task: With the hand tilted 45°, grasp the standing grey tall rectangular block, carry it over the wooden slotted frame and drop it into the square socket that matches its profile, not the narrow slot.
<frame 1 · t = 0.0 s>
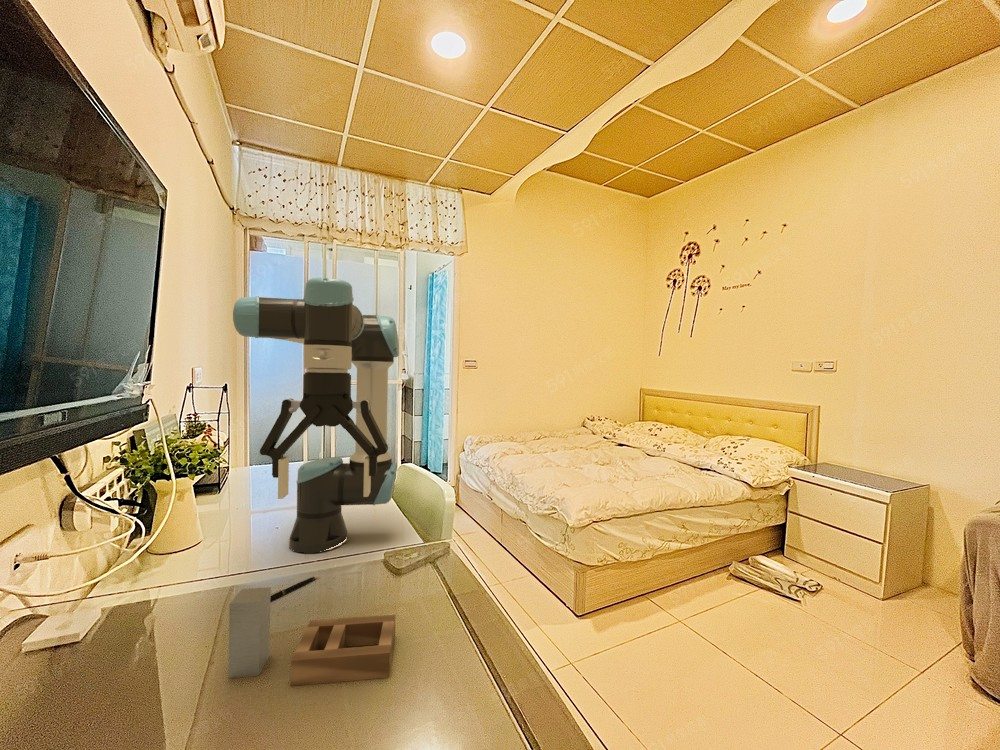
hand: (325, 495, 71), 28 cm above the table, tool pointing down, fingers open, 13 cm apart
grey tall rectangular block: (249, 666, 69), on the table
fountain pen: (291, 592, 93), on the table
wooden slotted frame: (347, 658, 72), on the table
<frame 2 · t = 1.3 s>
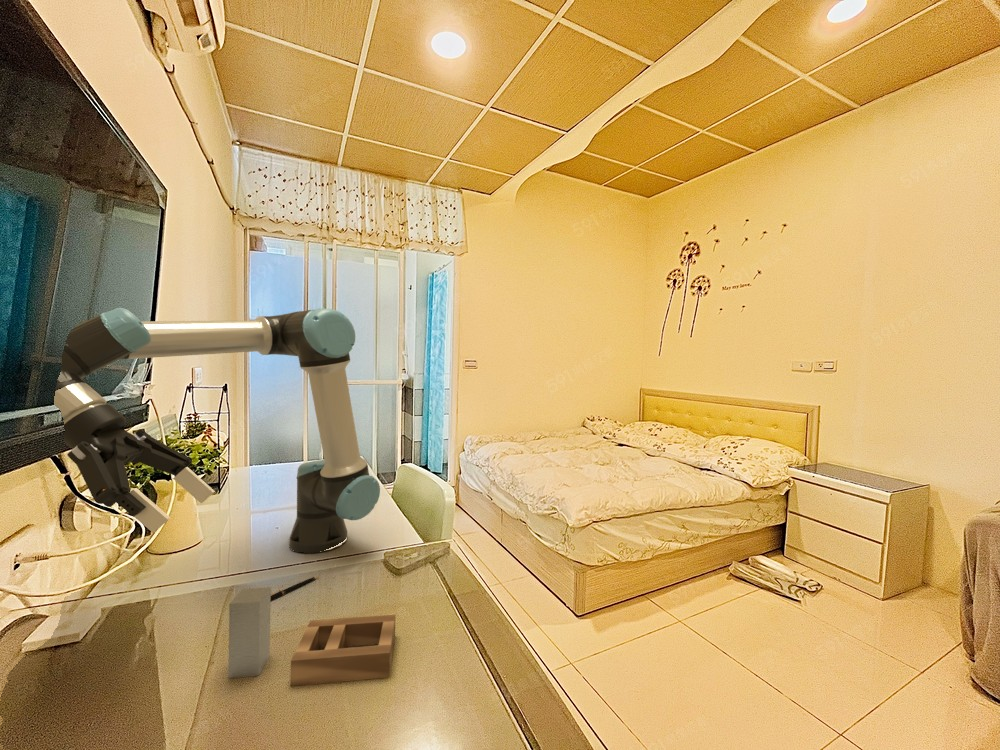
hand: (187, 510, 69), 26 cm above the table, tool tilted 45°, fingers open, 13 cm apart
nothing on the table moved.
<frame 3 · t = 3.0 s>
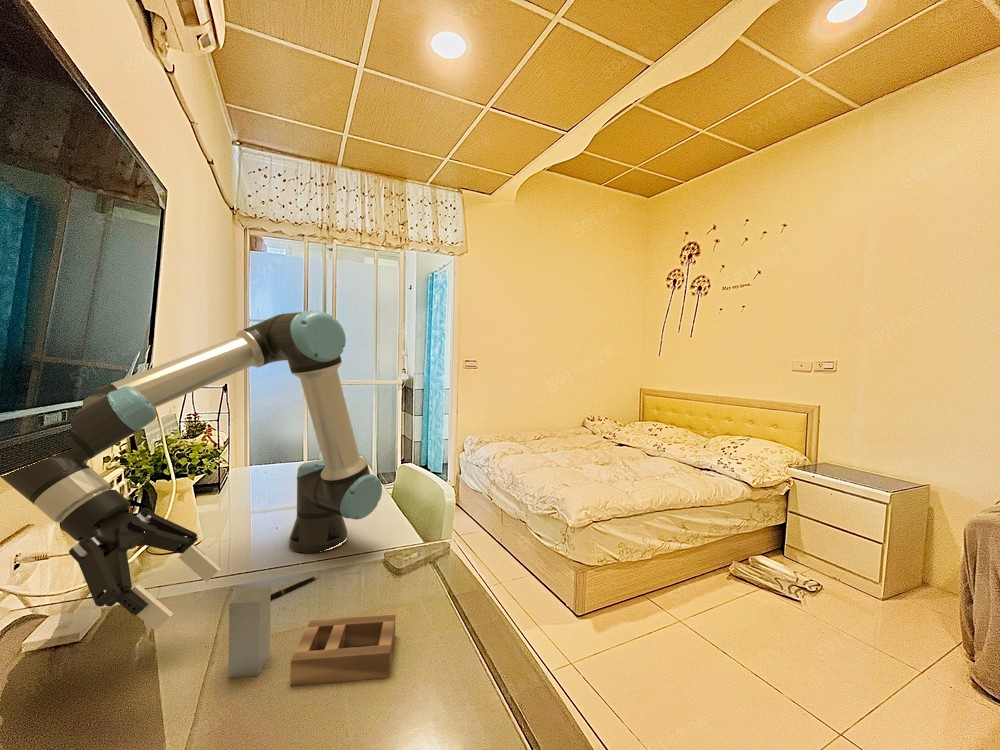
hand: (191, 596, 67), 13 cm above the table, tool tilted 45°, fingers open, 13 cm apart
nothing on the table moved.
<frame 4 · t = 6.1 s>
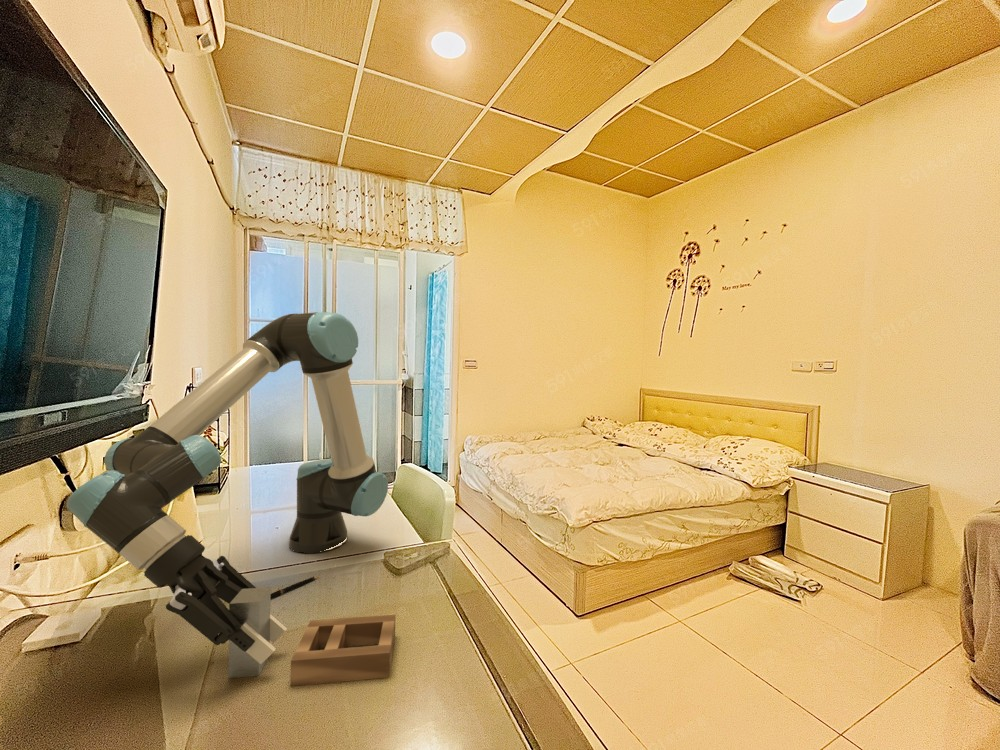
hand: (274, 645, 70), 3 cm above the table, tool tilted 45°, fingers closed on grey tall rectangular block, 4 cm apart
grey tall rectangular block: (249, 666, 69), on the table, touching gripper
everything else where it was.
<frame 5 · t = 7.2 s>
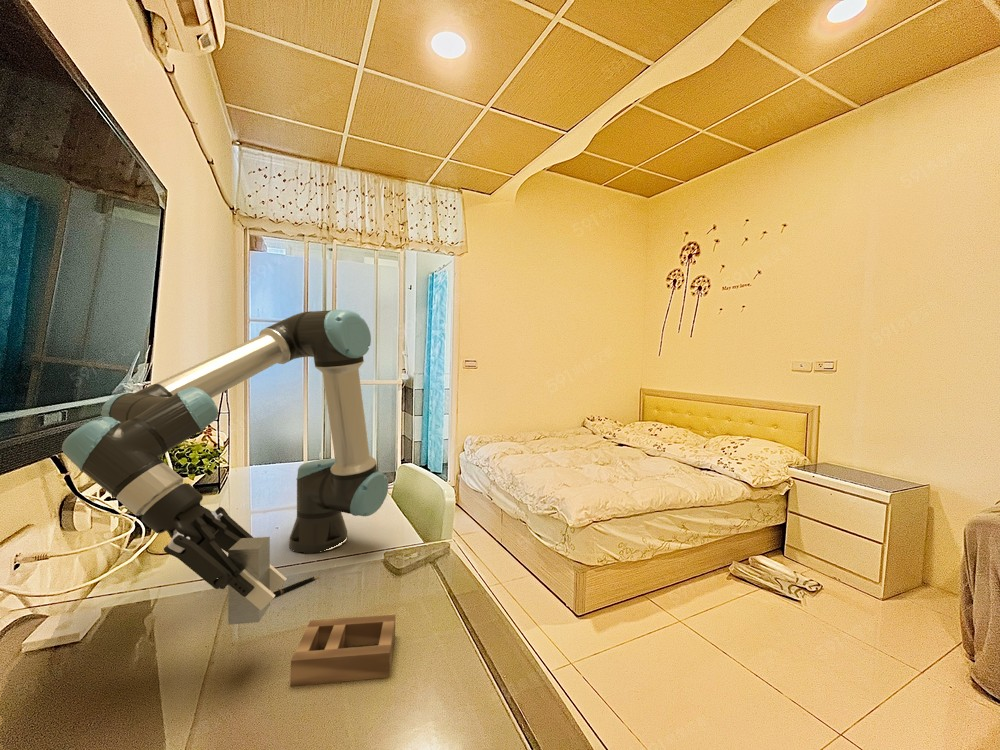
hand: (274, 593, 69), 12 cm above the table, tool tilted 45°, fingers closed on grey tall rectangular block, 4 cm apart
grey tall rectangular block: (249, 615, 69), point 9 cm above the table, touching gripper
everything else where it was.
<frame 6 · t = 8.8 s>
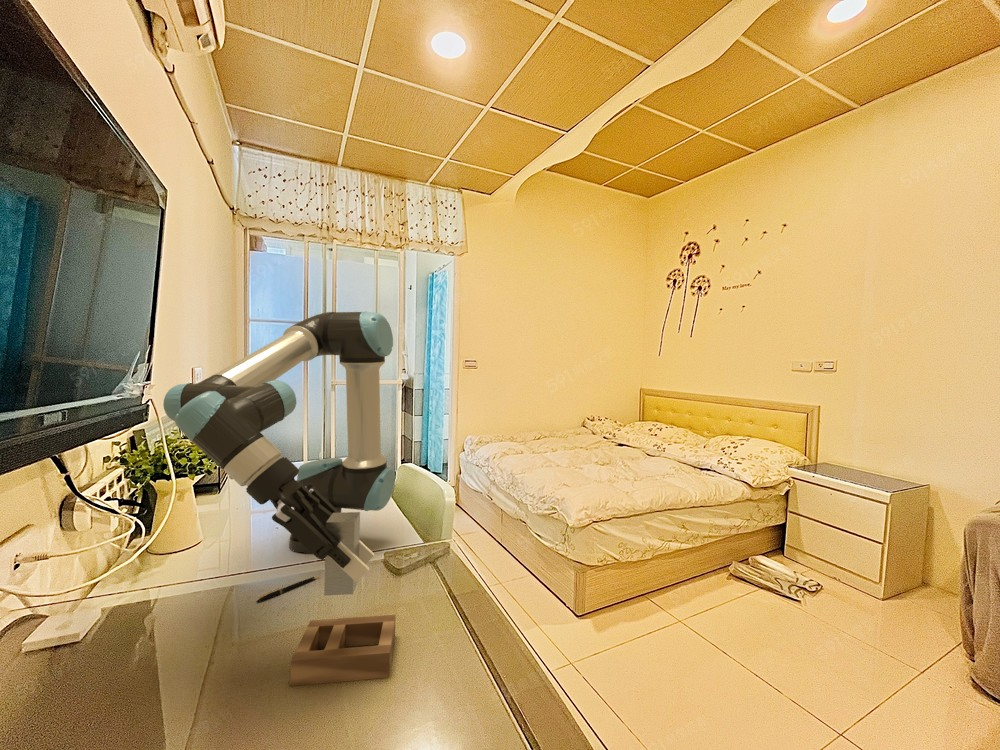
hand: (365, 567, 71), 16 cm above the table, tool tilted 45°, fingers closed on grey tall rectangular block, 4 cm apart
grey tall rectangular block: (341, 587, 70), point 13 cm above the table, touching gripper
everything else where it was.
when the fingers open (9 cm above the table, at t = 10.8 s): grey tall rectangular block drops 5 cm, resting in wooden slotted frame.
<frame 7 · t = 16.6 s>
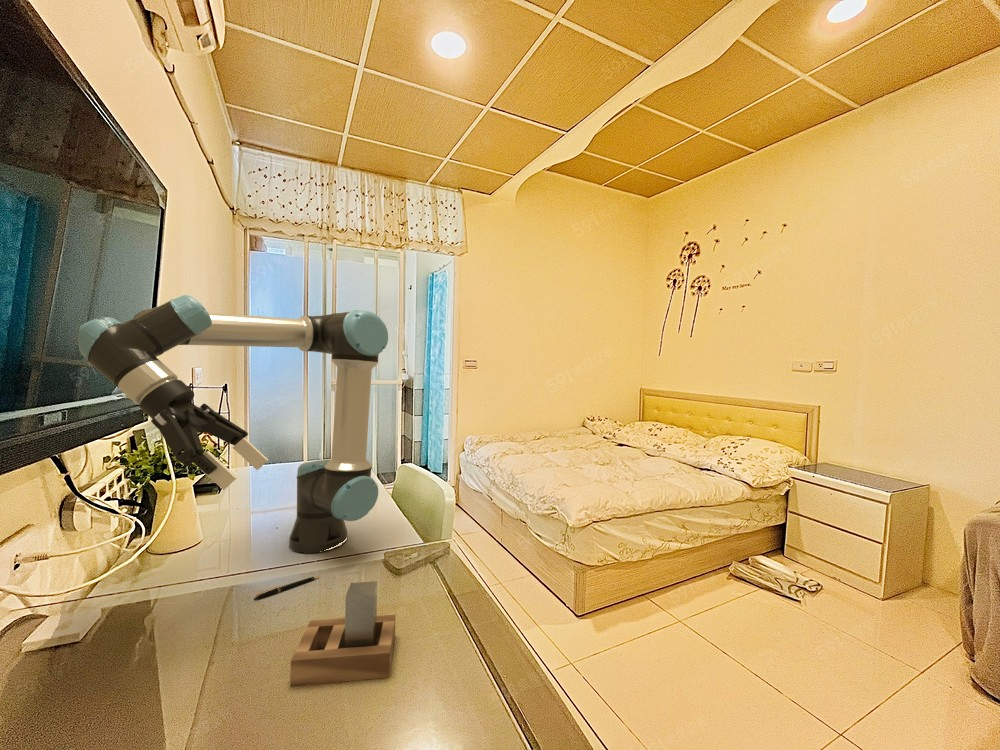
hand: (248, 473, 78), 30 cm above the table, tool tilted 45°, fingers open, 13 cm apart
grey tall rectangular block: (360, 657, 72), resting in wooden slotted frame
at the end: grey tall rectangular block 0.1 cm from the target spot, resting in wooden slotted frame; grey tall rectangular block tilted 0°; the gripper is holding nothing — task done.
